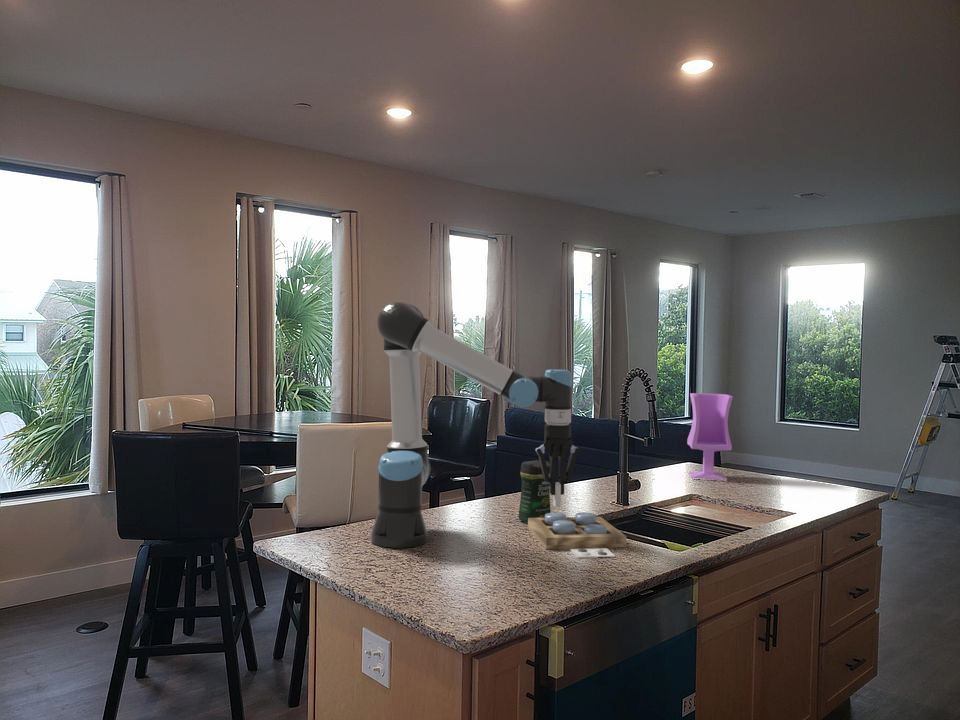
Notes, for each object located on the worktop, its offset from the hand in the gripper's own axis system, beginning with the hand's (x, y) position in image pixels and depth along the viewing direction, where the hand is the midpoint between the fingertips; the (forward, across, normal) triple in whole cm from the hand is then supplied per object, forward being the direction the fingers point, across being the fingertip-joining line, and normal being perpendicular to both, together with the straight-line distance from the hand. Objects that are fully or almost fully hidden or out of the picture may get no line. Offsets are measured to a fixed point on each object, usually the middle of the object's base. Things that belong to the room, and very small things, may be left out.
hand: (556, 506), depth 205 cm
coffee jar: (+8, -3, +15) cm, 17 cm away
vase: (+9, +88, +84) cm, 121 cm away
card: (+8, +4, -20) cm, 22 cm away
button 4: (+7, +9, -9) cm, 14 cm away
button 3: (+5, +9, 0) cm, 10 cm away
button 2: (+5, 0, -9) cm, 10 cm away
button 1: (+5, 0, 0) cm, 5 cm away
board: (+8, +4, -4) cm, 10 cm away
